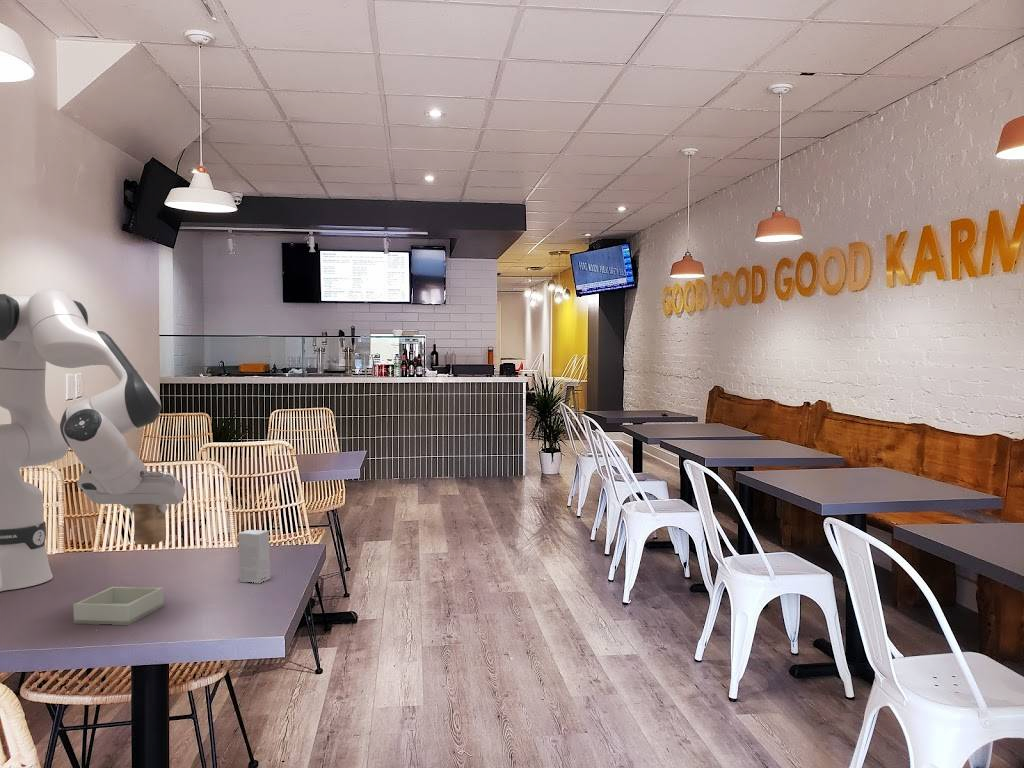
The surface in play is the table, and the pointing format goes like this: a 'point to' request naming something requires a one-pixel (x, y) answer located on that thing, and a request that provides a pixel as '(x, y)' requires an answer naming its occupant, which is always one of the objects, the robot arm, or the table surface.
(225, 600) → the table surface
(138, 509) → the oak block
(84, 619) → the bin
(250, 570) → the skincare box
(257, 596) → the table surface
